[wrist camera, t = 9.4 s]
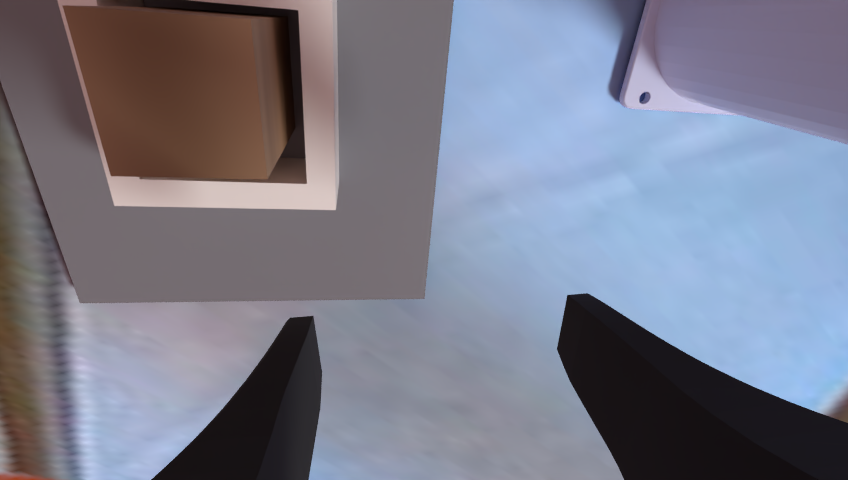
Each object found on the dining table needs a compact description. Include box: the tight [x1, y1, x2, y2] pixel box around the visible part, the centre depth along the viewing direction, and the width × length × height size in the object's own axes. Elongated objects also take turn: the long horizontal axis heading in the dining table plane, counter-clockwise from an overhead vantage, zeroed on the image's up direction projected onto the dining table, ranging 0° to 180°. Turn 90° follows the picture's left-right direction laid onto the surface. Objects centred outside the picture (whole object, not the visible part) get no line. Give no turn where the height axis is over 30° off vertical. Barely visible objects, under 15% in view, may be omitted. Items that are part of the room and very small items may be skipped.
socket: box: [0, 0, 454, 303], centre depth 15 cm, size 16×20×4 cm
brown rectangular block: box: [62, 5, 295, 179], centre depth 13 cm, size 4×4×6 cm
